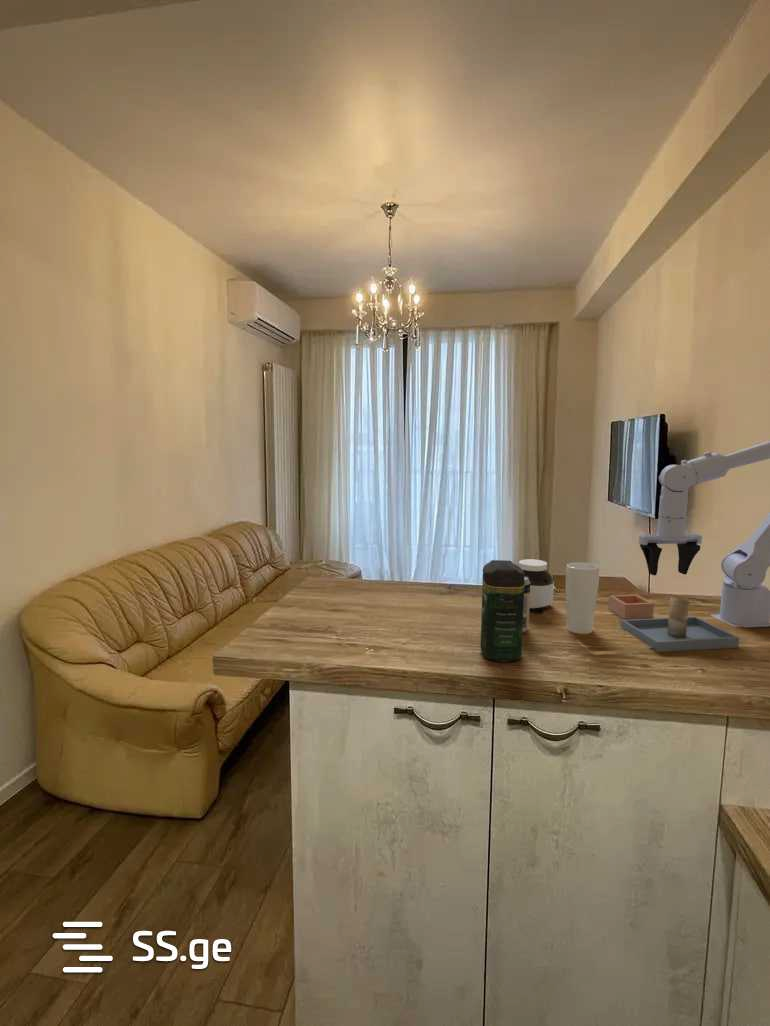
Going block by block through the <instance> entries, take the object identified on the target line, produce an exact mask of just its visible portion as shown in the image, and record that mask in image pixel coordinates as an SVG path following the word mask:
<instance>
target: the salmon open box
mask: <svg viewBox="0 0 770 1026" xmlns="http://www.w3.org/2000/svg"><path fill="white" fill-rule="evenodd" d="M654 604H655V603H654V602H652V601H650V600H648V599H646V598H644V597H642V596H640V595H638V594H619V595H618V594H616V595H614V594H612V595H608V607H607V610H608V611H610V612H611V613H613V614H615V615H616V616H619V617H620V618H621V619H622V620H631V619H651V618H653V617H654V606H655V605H654Z"/></svg>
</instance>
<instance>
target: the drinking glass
mask: <svg viewBox="0 0 770 1026" xmlns="http://www.w3.org/2000/svg"><path fill="white" fill-rule="evenodd" d="M565 571H566V572H565V598H566V600H565V603H566V605H565V606H566V630H568V631H569V632H571V633H573V634H579V635H589V634H591V633H592V632H593V629H594V627H593V626H594V619H595V618H594V617H595V611H596V605H597V599H598V598H597V597H598V591H599V583H600V566H599V565H597V564H595V563H591V562H582V561H574V562H569V563H567V564H566V569H565Z"/></svg>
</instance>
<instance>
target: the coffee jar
mask: <svg viewBox="0 0 770 1026" xmlns="http://www.w3.org/2000/svg"><path fill="white" fill-rule="evenodd" d="M524 579H525V578H524V572H523V570H522V569H521V568H520V567H519V565H517V564H516V563H514V562H512V561H511V560H502V559H501V560H500V559H498V560H497V559H496V560H495V559H492V560H490V561H489V562H487V563H486V564H485V565H484V566H483V569H482V589H481V590H482V593H481V594H482V596H481V620H480V622H481V623H480V650H481V653H482V654H483V656H484V657H485V659H487V660H493V661H496V662H499V663H500V662H501V663H509V662H512V661H518V660H520V659H522V658H521V657H522V654H523V653H522V650H523V633H522V630H523V609H524V586H525V581H524Z"/></svg>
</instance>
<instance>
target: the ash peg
mask: <svg viewBox="0 0 770 1026" xmlns="http://www.w3.org/2000/svg"><path fill="white" fill-rule="evenodd" d="M689 606H690V600H689V598H687V597H685V596H684V597H683V596H676V595H675V596H670V598H669V608H668V609H669V611H668V618H669V621H668V635H669V636H672V637H676V638H685V637H686V631H687V619H688V617H689Z"/></svg>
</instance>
